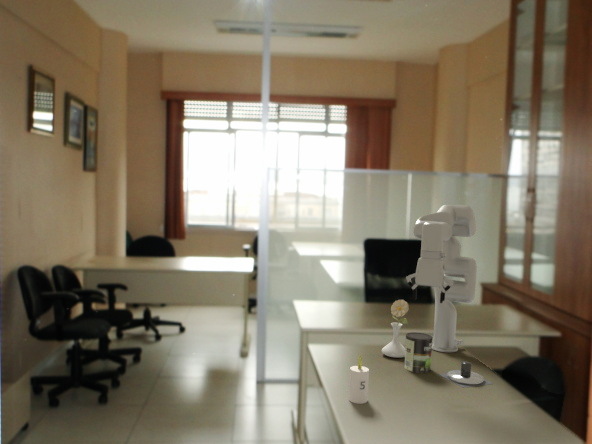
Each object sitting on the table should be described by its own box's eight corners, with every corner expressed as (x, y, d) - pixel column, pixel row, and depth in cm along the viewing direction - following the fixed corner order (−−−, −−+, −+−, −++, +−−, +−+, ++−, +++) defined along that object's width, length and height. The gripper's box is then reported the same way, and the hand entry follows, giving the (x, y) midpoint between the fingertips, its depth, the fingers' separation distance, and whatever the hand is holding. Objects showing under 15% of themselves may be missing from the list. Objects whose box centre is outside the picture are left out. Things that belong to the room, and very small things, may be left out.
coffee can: (434, 370, 208) (436, 335, 207) (423, 377, 200) (426, 341, 199) (410, 364, 214) (412, 330, 213) (399, 370, 206) (401, 335, 205)
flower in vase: (376, 353, 228) (379, 296, 226) (397, 350, 233) (401, 294, 231) (393, 362, 216) (397, 302, 215) (416, 359, 221) (419, 301, 219)
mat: (467, 373, 207) (467, 371, 207) (493, 386, 194) (493, 383, 194) (438, 376, 201) (438, 374, 201) (462, 390, 188) (462, 387, 188)
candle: (352, 404, 171) (355, 359, 171) (345, 396, 178) (347, 353, 177) (370, 403, 173) (373, 358, 172) (363, 395, 179) (365, 352, 179)
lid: (467, 371, 206) (468, 356, 206) (491, 383, 194) (492, 366, 194) (440, 374, 201) (441, 358, 201) (463, 387, 189) (464, 370, 189)
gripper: (455, 256, 196) (452, 302, 197) (409, 252, 202) (406, 296, 203) (454, 258, 189) (451, 305, 190) (405, 254, 195) (403, 300, 196)
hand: (428, 301), depth 197 cm, fingers open, 9 cm apart
